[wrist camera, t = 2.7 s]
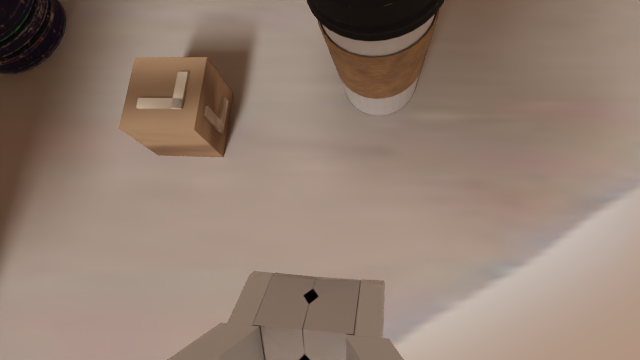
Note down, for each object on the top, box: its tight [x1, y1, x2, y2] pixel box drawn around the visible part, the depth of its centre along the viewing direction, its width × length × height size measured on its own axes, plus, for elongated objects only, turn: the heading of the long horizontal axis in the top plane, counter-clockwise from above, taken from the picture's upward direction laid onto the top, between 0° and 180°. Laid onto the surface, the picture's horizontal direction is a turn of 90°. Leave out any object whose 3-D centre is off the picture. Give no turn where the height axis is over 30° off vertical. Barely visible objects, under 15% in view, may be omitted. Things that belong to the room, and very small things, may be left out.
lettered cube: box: [119, 57, 233, 157], centre depth 36 cm, size 6×6×6 cm
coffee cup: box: [307, 0, 444, 115], centre depth 30 cm, size 8×8×15 cm
